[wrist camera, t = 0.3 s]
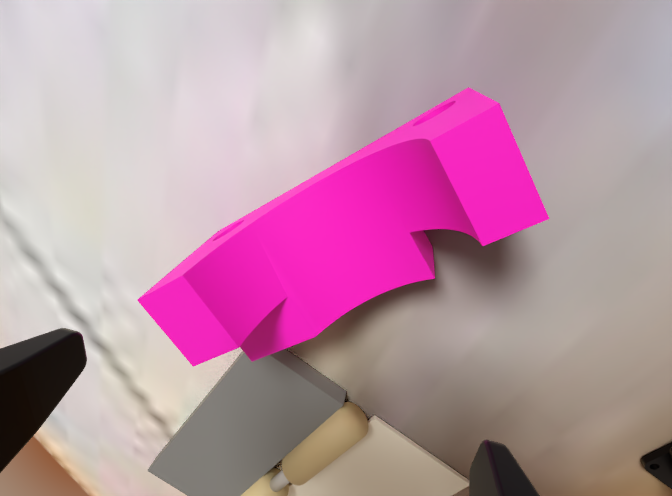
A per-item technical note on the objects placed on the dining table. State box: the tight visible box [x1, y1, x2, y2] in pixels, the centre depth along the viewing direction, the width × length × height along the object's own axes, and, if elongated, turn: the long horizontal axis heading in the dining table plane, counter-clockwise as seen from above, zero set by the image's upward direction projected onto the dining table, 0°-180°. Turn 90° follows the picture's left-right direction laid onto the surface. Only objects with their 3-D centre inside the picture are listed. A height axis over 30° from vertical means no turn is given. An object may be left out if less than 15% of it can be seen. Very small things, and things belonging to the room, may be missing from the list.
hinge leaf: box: [148, 349, 369, 496], centre depth 29 cm, size 9×18×2 cm, turn 144°
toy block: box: [138, 87, 549, 366], centre depth 18 cm, size 15×6×8 cm, turn 121°
